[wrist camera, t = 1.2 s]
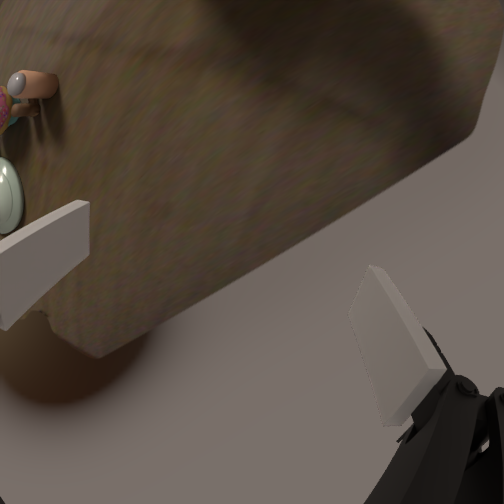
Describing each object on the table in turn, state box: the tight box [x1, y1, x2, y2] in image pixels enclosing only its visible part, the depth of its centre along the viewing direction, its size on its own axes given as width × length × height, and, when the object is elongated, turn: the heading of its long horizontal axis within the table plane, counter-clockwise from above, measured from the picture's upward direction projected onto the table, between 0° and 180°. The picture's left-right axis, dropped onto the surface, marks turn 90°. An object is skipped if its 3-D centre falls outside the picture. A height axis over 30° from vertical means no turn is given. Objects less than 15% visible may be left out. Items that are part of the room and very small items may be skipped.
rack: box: [10, 77, 40, 117], centre depth 30 cm, size 7×14×5 cm, turn 101°
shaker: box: [7, 70, 59, 99], centre depth 27 cm, size 4×4×8 cm
